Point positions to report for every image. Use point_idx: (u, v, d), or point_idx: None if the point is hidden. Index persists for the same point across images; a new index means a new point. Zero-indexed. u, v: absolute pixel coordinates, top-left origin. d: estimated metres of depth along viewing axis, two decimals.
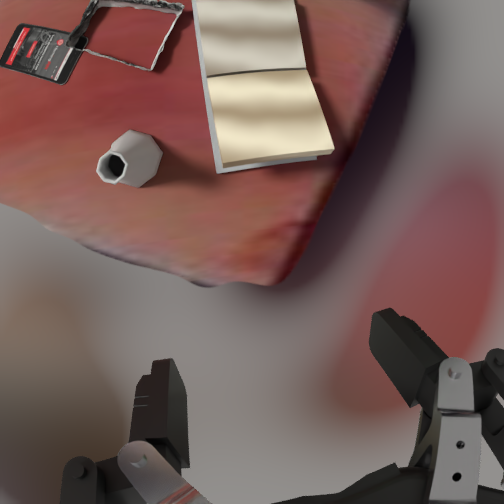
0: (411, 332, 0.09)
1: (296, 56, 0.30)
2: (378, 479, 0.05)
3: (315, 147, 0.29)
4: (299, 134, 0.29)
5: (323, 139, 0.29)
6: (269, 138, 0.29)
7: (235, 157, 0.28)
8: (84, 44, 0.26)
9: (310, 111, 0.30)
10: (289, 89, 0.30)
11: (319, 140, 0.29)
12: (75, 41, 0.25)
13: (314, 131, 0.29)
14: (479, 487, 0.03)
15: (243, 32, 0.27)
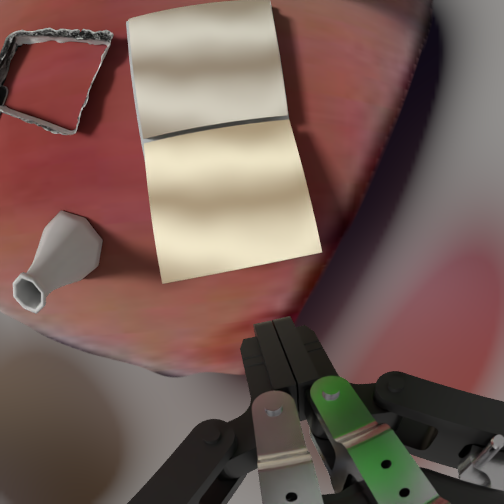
0: (299, 344, 0.10)
1: (274, 99, 0.22)
2: None
3: (294, 252, 0.22)
4: (271, 233, 0.22)
5: (306, 238, 0.22)
6: (227, 243, 0.21)
7: (179, 275, 0.21)
8: (3, 97, 0.18)
9: (290, 191, 0.22)
10: (261, 155, 0.22)
11: (300, 240, 0.22)
12: None
13: (294, 226, 0.22)
14: (479, 487, 0.03)
15: (194, 67, 0.20)
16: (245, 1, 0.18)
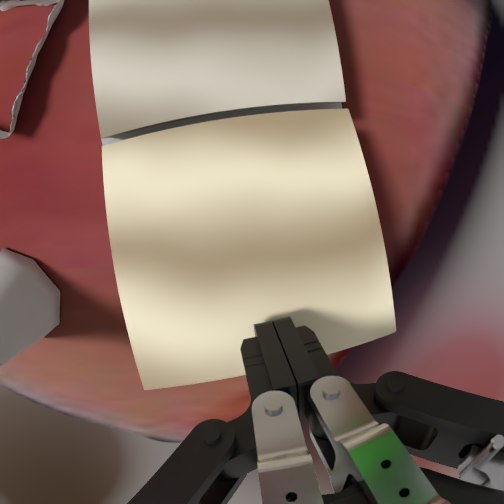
0: (299, 343, 0.10)
1: (324, 74, 0.12)
2: None
3: (357, 337, 0.12)
4: (324, 309, 0.12)
5: (377, 313, 0.13)
6: (250, 328, 0.12)
7: (171, 379, 0.12)
8: None
9: (356, 234, 0.13)
10: (307, 168, 0.13)
11: (368, 317, 0.13)
12: None
13: (360, 295, 0.13)
14: (479, 487, 0.03)
15: (191, 16, 0.10)
16: None
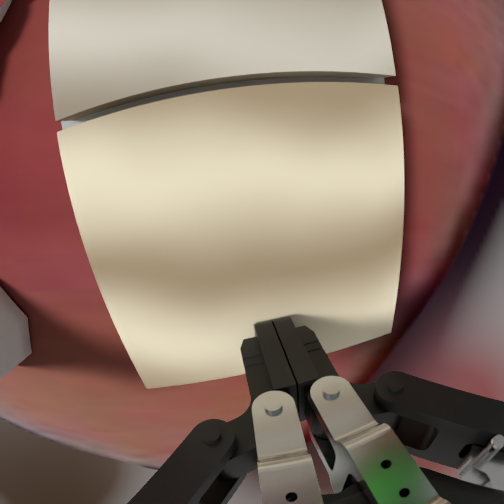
0: (299, 343, 0.10)
1: (368, 37, 0.08)
2: None
3: (354, 339, 0.13)
4: (328, 318, 0.12)
5: (377, 318, 0.13)
6: None
7: (172, 380, 0.12)
8: None
9: (375, 245, 0.11)
10: (336, 166, 0.10)
11: (368, 322, 0.13)
12: None
13: (366, 304, 0.12)
14: (479, 487, 0.03)
15: None
16: None
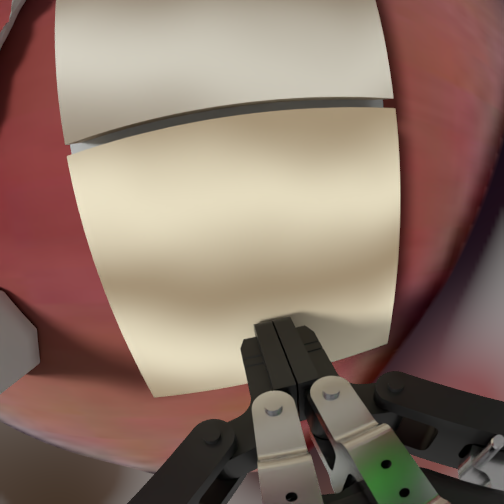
0: (299, 343, 0.10)
1: (367, 61, 0.09)
2: None
3: (351, 350, 0.13)
4: (327, 331, 0.12)
5: (374, 330, 0.13)
6: None
7: (178, 389, 0.12)
8: None
9: (372, 263, 0.12)
10: (334, 190, 0.10)
11: (365, 334, 0.13)
12: None
13: (362, 317, 0.13)
14: (479, 487, 0.03)
15: None
16: None
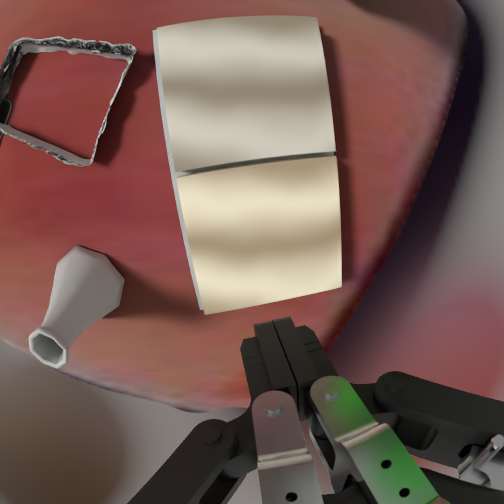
0: (299, 344, 0.10)
1: (321, 133, 0.20)
2: None
3: (319, 288, 0.25)
4: (303, 273, 0.24)
5: (331, 276, 0.25)
6: (263, 282, 0.24)
7: (220, 308, 0.24)
8: (7, 113, 0.17)
9: (325, 235, 0.23)
10: (303, 198, 0.22)
11: (326, 278, 0.25)
12: None
13: (323, 267, 0.24)
14: (479, 487, 0.03)
15: (235, 91, 0.18)
16: (291, 17, 0.17)
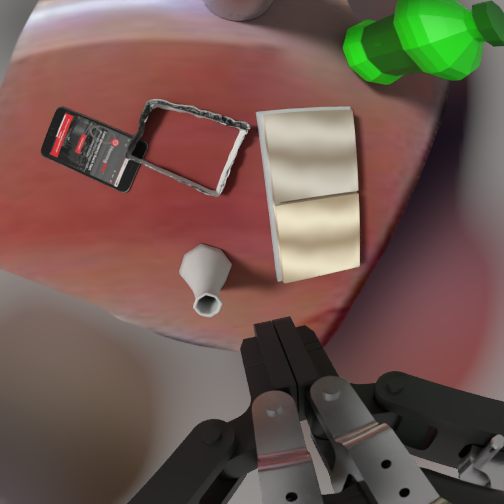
0: (299, 344, 0.10)
1: (351, 181, 0.38)
2: None
3: (347, 267, 0.43)
4: (338, 258, 0.42)
5: (354, 260, 0.42)
6: (318, 263, 0.41)
7: (293, 279, 0.42)
8: (144, 150, 0.34)
9: (351, 237, 0.41)
10: (340, 217, 0.39)
11: (351, 261, 0.42)
12: (133, 149, 0.33)
13: (349, 254, 0.42)
14: (479, 487, 0.03)
15: (308, 158, 0.36)
16: (338, 110, 0.34)
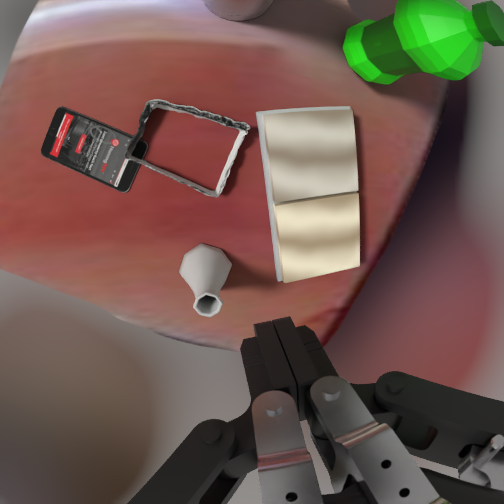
0: (299, 344, 0.10)
1: (351, 180, 0.38)
2: None
3: (347, 266, 0.43)
4: (339, 258, 0.42)
5: (354, 260, 0.42)
6: (318, 263, 0.41)
7: (293, 278, 0.42)
8: (144, 150, 0.34)
9: (351, 236, 0.41)
10: (340, 216, 0.39)
11: (351, 261, 0.42)
12: (132, 149, 0.33)
13: (349, 254, 0.42)
14: (479, 487, 0.03)
15: (308, 158, 0.36)
16: (338, 110, 0.34)
